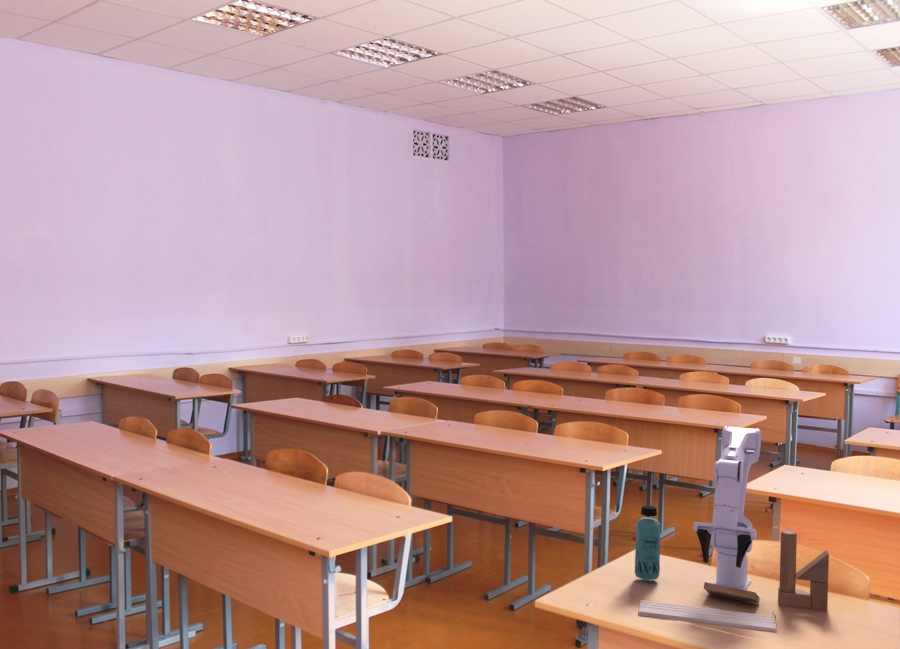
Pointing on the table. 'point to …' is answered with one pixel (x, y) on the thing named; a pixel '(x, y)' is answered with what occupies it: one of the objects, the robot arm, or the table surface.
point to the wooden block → (802, 577)
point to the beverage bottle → (647, 545)
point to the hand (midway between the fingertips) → (721, 564)
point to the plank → (731, 593)
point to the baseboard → (708, 615)
